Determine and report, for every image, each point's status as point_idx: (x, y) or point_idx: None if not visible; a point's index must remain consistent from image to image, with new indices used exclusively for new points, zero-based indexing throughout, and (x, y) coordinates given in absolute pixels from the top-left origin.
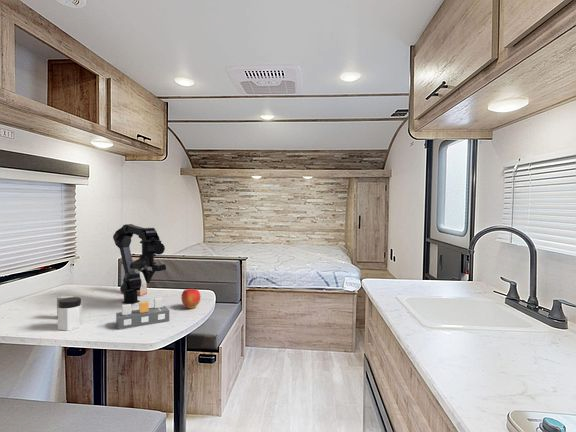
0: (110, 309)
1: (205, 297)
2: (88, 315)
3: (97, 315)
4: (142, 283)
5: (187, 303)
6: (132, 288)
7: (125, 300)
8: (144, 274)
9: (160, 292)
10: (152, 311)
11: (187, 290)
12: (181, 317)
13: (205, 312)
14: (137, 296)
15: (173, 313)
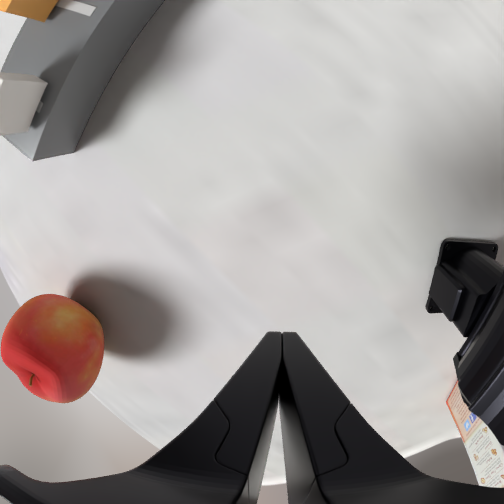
0: (478, 120)
1: (163, 439)
2: (478, 9)
3: (446, 10)
4: (477, 425)
5: (39, 295)
6: (492, 308)
7: (484, 253)
8: (342, 455)
9: (397, 435)
10: (27, 43)
11: (12, 352)
12: (17, 184)
13: (10, 283)
14: (441, 310)
15: (73, 212)
